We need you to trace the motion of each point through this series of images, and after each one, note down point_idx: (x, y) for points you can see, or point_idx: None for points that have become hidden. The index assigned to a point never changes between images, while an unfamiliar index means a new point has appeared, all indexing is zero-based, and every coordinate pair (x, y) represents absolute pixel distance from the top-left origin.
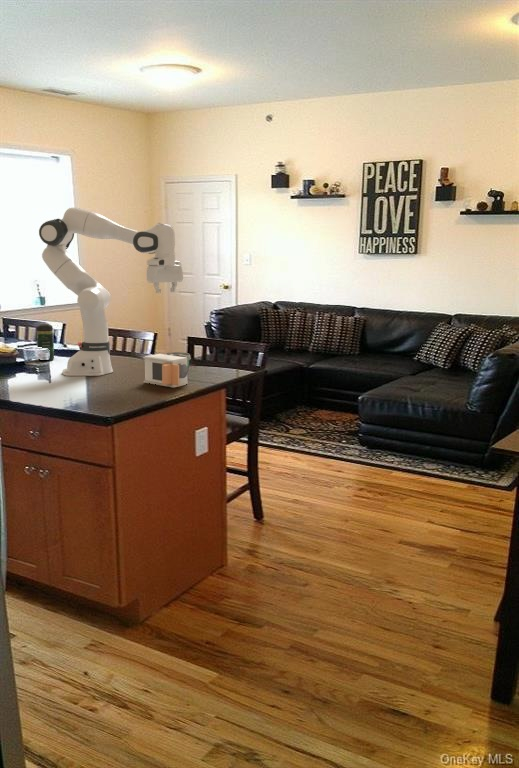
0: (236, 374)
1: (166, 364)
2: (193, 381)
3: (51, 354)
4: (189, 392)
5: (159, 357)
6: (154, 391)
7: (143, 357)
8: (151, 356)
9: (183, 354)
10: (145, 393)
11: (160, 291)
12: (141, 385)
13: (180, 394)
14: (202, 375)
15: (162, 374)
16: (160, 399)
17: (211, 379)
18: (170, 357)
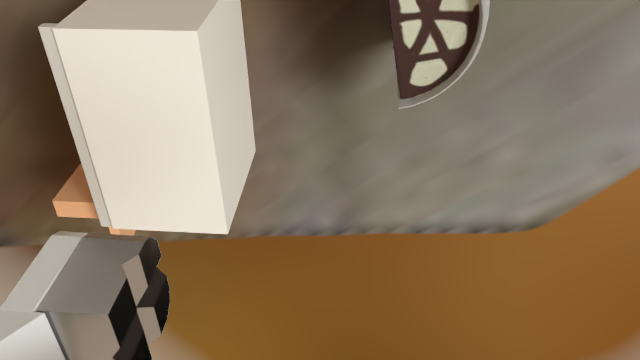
0: (602, 187)
1: (83, 204)
2: (324, 133)
3: None
4: (154, 235)
5: (104, 128)
6: (53, 134)
7: (40, 30)
8: (84, 69)
9: (475, 12)
10: (3, 131)
11: (146, 335)
12: (70, 4)
13: (108, 230)
14: (485, 77)
15: (73, 175)
16: (5, 224)
17: (417, 167)
18: (157, 172)
